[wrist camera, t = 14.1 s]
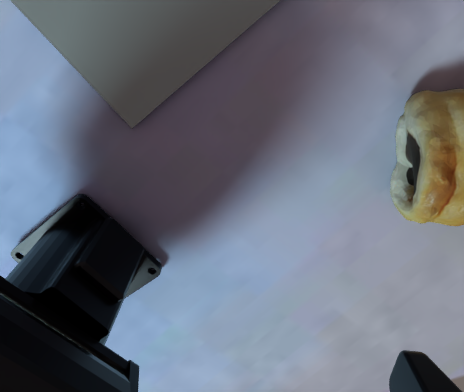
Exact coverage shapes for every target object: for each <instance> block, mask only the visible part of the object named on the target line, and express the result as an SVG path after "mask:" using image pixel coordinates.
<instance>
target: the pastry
mask: <svg viewBox="0 0 464 392" xmlns="http://www.w3.org/2000/svg"><path fill="white" fill-rule="evenodd" d="M404 108H405V112H404V114H403V115H402V116H401V117H400V118H399V121H398V125H397V130H396V136H395V137H396V155H397V164H396V167H395V169H394V171H393V173H392V177H391V188H390V194H391V197H392V200H393V202H394V205H395V206H396V208H397V209H398V211H399V212H400V213H401V214H402V215H403V217H405V218H406V219H407V220H410V221H415V222H418V223H426V222H435V223H440V224H445V225H449V226H460V225H464V89H451V90H448V91H443V92H435V91H429V90H425V91H421V92H418V93H415V94H414V95H412V96H411V98H410V99H409V100H408V101H407V102H406V105H405V107H404Z"/></svg>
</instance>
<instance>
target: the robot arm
mask: <svg viewBox="0 0 464 392" xmlns="http://www.w3.org/2000/svg"><path fill="white" fill-rule="evenodd" d="M79 202H82V203H84V205H85V206H81V205H80V204H79ZM19 252H20V253H22V254H23V255H22V254H20V253H19ZM11 256H12V258H13V259H14V260H15V261H17V262H18V265H17V266H16V267H15V268H14V269H13V270H12V272H11V273H10V274H9V275H8V276H7V277H6V279H5V278H3V277H2V276H0V392H138V381H139V366H138V365H137V364H135V363H134V362H132V361H131V360H129V361H127V360H125V359H124V358H122V357H121V356H119V355H118V354H116V353H115V352H113V351H112V350H110V349H109V348H107V347H106V346H104V345H105V343H106V341H107V338H108V336H109V333H110V331H111V329H112V326H113V324H114V322H115V319H116V317H117V315H118V312H119V310H120V308H121V305H122V303H123V301H124V299H125V298H126V297H128V296H129V295H131V294H132V293H134V292H135V291H137V290H138V289H140V288H141V287H143V286H144V285H146V284H147V283H149V282H150V281H152V280H153V279H155V278H156V277H158V276H159V275H160V272H161V269H162V266H161V264H160V263H159V262H158V261H157V260H156V259H155V258H154V257H153V256H152V255H151V254H150V253H149V252H147V251H146V250H145V249H144V248H143V246H142V245H141V244H140V243H139V242H138V241H137V240H135V239H134V238H133V237H132V236H131V235H130V234H129V233H128V232H127V231H126V230H125V229H124V228H123V227H121V226H120V225H119V224H118V223H117V222H116V221H115V220H114V219H112V218H111V217H110V216H109V215H108V214H107V213H105V212H104V211H103V210H102V209H101V208H100V207H99V206H98V205H97V204H96V203H95V202H94V201H93V200H92V199H90V198H89V197H88V196H86V195H84V194H79V195H77V196H75V197H74V198H73V199H72V200H71V201H69V202H68V203H67V204H66V205H65V206H63V207H62V208H61V209H60V210H59V211H57V212H56V213H55V214H54V215H53V216H51V217H50V218H49V219H48V220H47V221H45V222H44V223H43V224H42V225H41V226H40V227H38V228H37V229H36V230H35V231H34V232H32V233H31V234H30V235H29V236H28V237H26V238H25V239H24V240H23V241H22V242H20V243H19V244H18V245H17V246H16V247H15V248H14V249H13V250H12V252H11ZM150 268H154V269H155V270H151V269H150ZM389 388H390V392H462V391H461V390H460V389H459V388H458V387H457V386H456V385H455V384H454V383H453V382H452V381H451V380H450V379H449V378H448V377H447V376H446V375H445V374H444V373H443V372H442V371H441V370H440V369H439V368H438V366H437V365H436V364H435V363H434V362H433V361H432V360H431V359H430V358H429V357H428V356H427V355H425V354H424V353H422V352H417V351H406V350H404V351H401V352H400V353H399V355H398V358H397V360H396V363H395V365H394V368H393V371H392V373H391V376H390V380H389Z"/></svg>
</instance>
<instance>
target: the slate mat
mask: <svg viewBox="0 0 464 392" xmlns="http://www.w3.org/2000/svg"><path fill="white" fill-rule="evenodd" d="M11 1H12V3H13V4H14V5H15V6H16V7H17V8H18V9H19V10H20V11H21V12H22V13H23V14H24V15H25V16H26V17H27V18H28V19H29V21H30V22H31V23H32V24H33V25H34V26H35V27H36V28H37V29H38V30H39V31H40V32H41V33H42V34H43V35H44V36H45V37H46V38H47V40H48V41H49V42H50V43H51V44H52V45H53V46H54V47H55V48H56V49H57V50H58V51H59V52H60V53H61V54H62V55H63V56H64V58H65V59H66V60H67V61H68V62H69V63H70V64H71V65H72V66H73V67H74V68H75V69H76V70H77V71H78V72H79V73H80V74H81V75H82V77H83V78H84V79H85V80H86V81H87V82H88V83H89V84H90V85H91V86H92V87H93V88H94V89H95V90H96V91H97V92H98V93H99V94H100V96H101V97H102V98H103V99H104V100H105V101H106V102H107V103H108V104H109V105H110V106H111V107H112V108H113V109H114V110H115V111H116V112H117V114H118V115H119V116H120V117H121V118H122V119H123V120H124V121H125V122H126V123H127V124H128V125H129V126H130V127H131V128H133V127H135V126H136V125H137V124H138V123H139V122H140V121H141V120H143V119H144V118H145V117H146V116H147V115H148V114H150V113H151V112H152V111H153V110H154V109H155V108H157V107H158V106H159V105H160V104H161V103H162V102H163V101H165V100H166V99H167V98H168V97H169V96H170V95H172V94H173V93H174V92H175V91H176V90H177V89H178V88H180V87H181V86H182V85H183V84H184V83H185V82H187V81H188V80H189V79H190V78H191V77H192V76H194V75H195V74H196V73H197V72H198V71H199V70H200V69H202V68H203V67H204V66H205V65H206V64H207V63H209V62H210V61H211V60H212V59H213V58H214V57H215V56H217V55H218V54H219V53H220V52H221V51H222V50H224V49H225V48H226V47H227V46H228V45H229V44H231V43H232V42H233V41H234V40H235V39H236V38H237V37H239V36H240V35H241V34H242V33H243V32H244V31H246V30H247V29H248V28H249V27H250V26H251V25H253V24H254V23H255V22H256V21H257V20H258V19H259V18H261V17H262V16H263V15H264V14H265V13H266V12H268V11H269V10H270V9H271V8H272V7H273V6H274V5H276V4H277V3H278V2H279V1H280V0H11Z"/></svg>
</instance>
